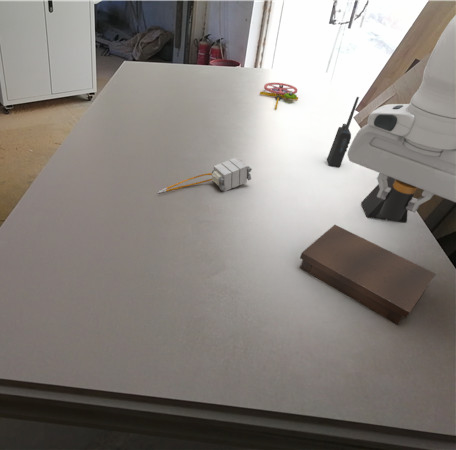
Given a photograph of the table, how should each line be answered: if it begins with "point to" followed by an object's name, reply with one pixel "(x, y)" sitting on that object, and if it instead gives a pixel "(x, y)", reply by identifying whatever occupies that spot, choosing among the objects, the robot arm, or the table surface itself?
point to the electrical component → (224, 175)
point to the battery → (397, 200)
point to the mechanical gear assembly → (280, 92)
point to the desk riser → (367, 272)
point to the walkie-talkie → (341, 142)
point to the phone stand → (378, 204)
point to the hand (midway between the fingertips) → (396, 203)
